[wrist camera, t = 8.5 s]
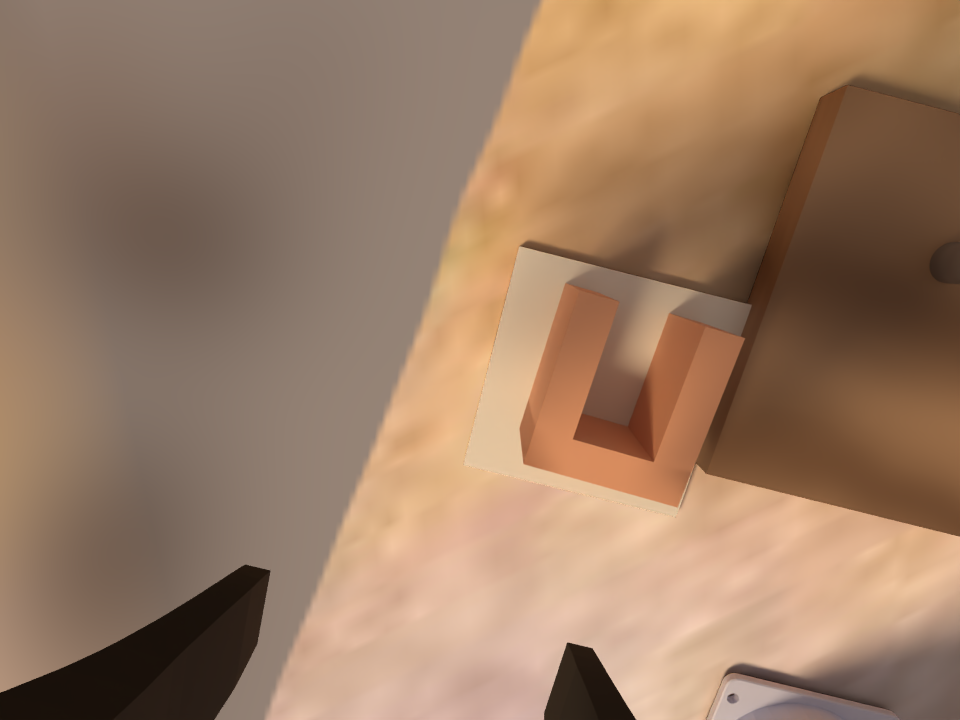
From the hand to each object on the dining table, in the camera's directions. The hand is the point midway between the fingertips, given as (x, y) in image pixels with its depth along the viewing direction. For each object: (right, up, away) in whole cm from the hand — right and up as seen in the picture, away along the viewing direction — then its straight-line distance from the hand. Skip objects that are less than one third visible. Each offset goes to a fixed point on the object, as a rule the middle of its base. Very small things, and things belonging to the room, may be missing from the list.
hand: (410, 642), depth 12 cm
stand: (+17, +8, +8) cm, 21 cm away
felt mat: (+6, +6, +9) cm, 12 cm away
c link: (+7, +6, +8) cm, 12 cm away
